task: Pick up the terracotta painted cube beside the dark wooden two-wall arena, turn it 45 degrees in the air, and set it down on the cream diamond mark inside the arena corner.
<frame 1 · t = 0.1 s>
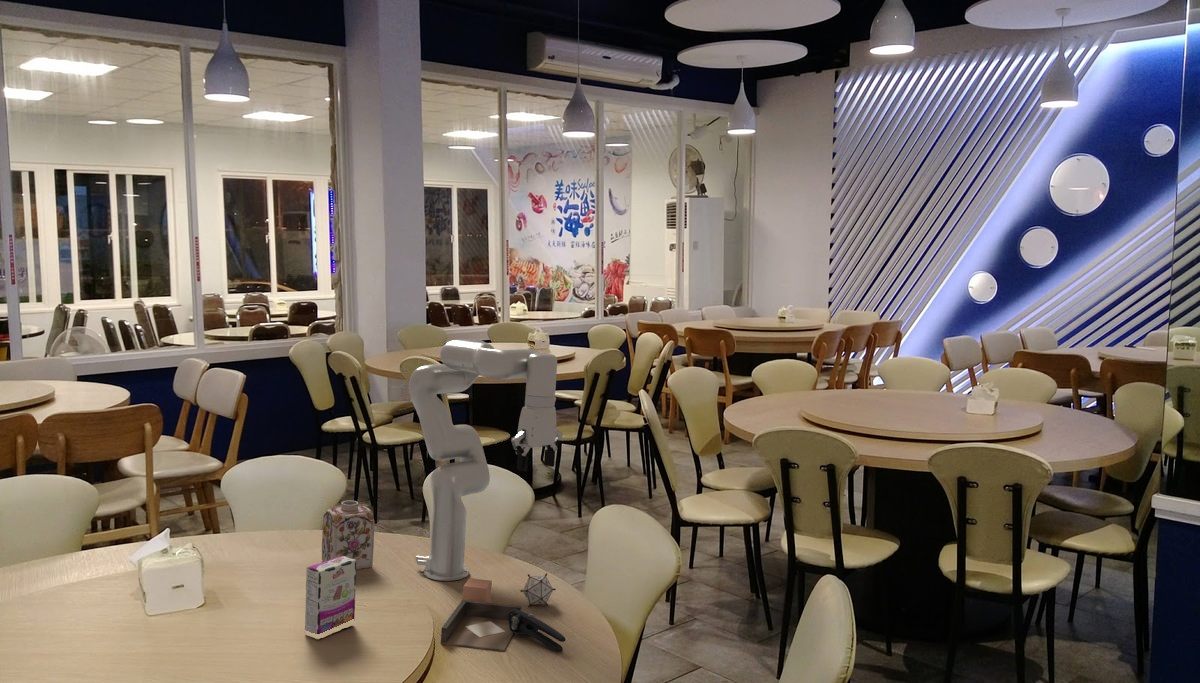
hand: (535, 468, 228), 37 cm above the table, tool pointing down, fingers open, 9 cm apart
game die: (536, 605, 234), on the table
arena: (481, 632, 214), on the table
candy bar box: (329, 631, 209), on the table
decorative jar: (346, 564, 255), on the table
can opener: (535, 640, 212), on the table, touching arena
cube: (476, 605, 231), on the table
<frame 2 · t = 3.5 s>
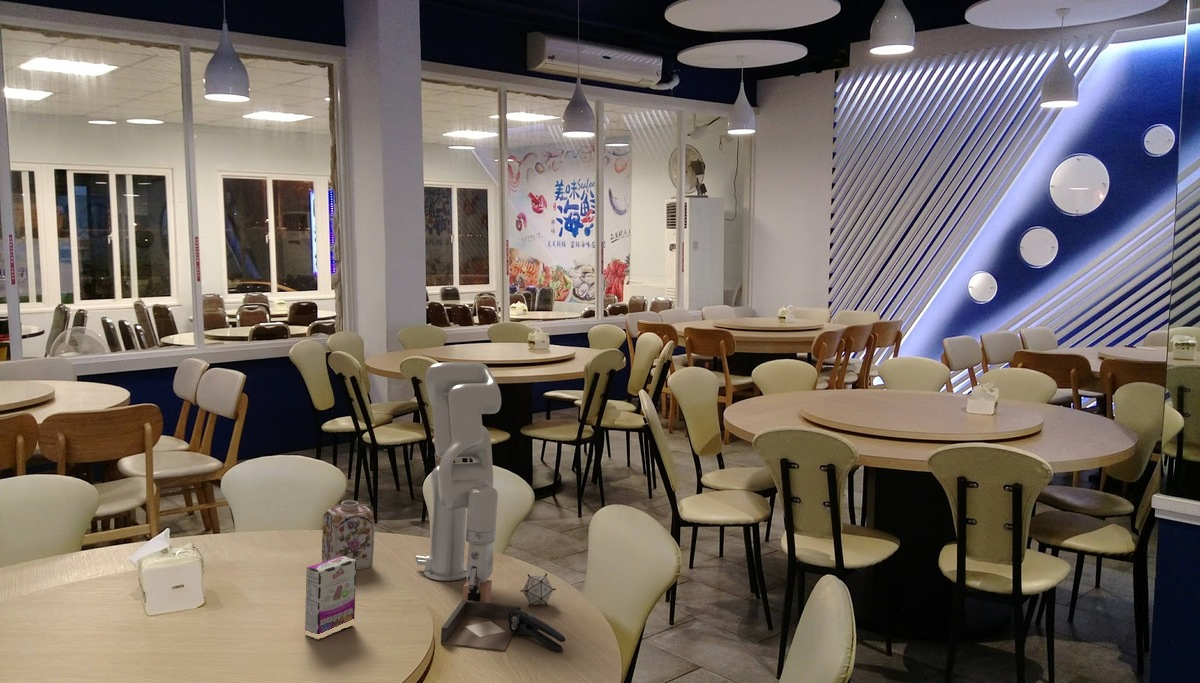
hand: (476, 602, 231), 1 cm above the table, tool pointing down, fingers closed on cube, 5 cm apart
cube: (476, 605, 231), on the table, touching gripper
everything else where it was.
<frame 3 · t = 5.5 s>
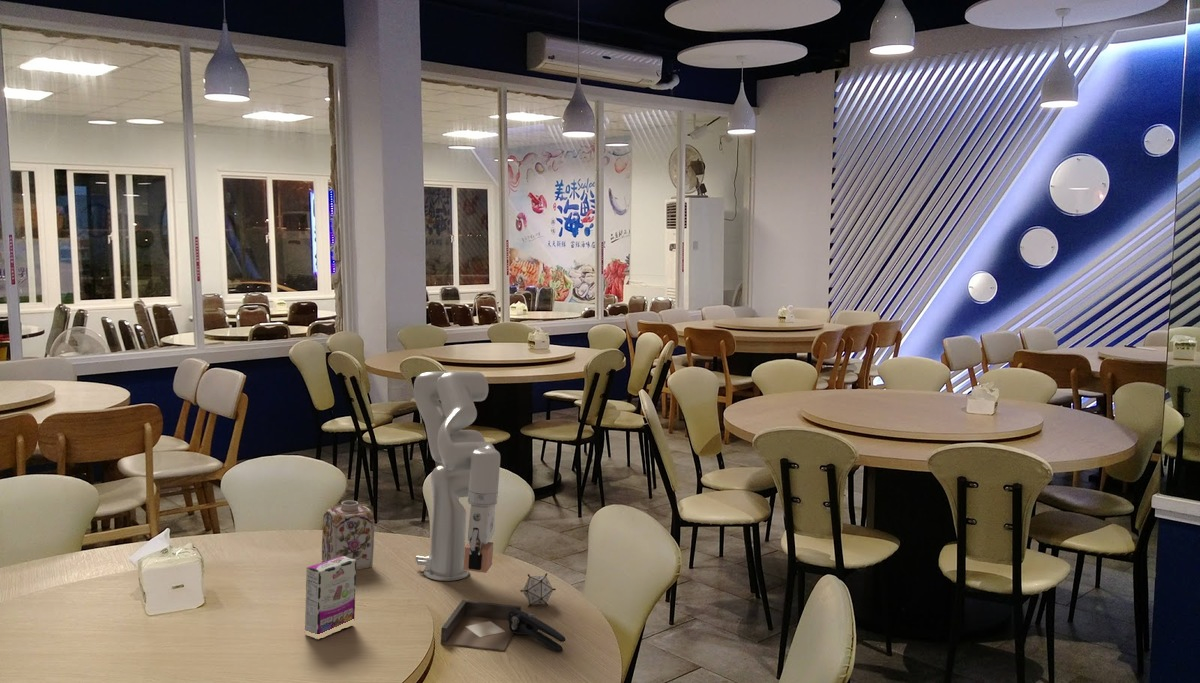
hand: (478, 563, 231), 11 cm above the table, tool pointing down, fingers closed on cube, 5 cm apart
cube: (477, 567, 231), point 10 cm above the table, touching gripper
everything else where it was.
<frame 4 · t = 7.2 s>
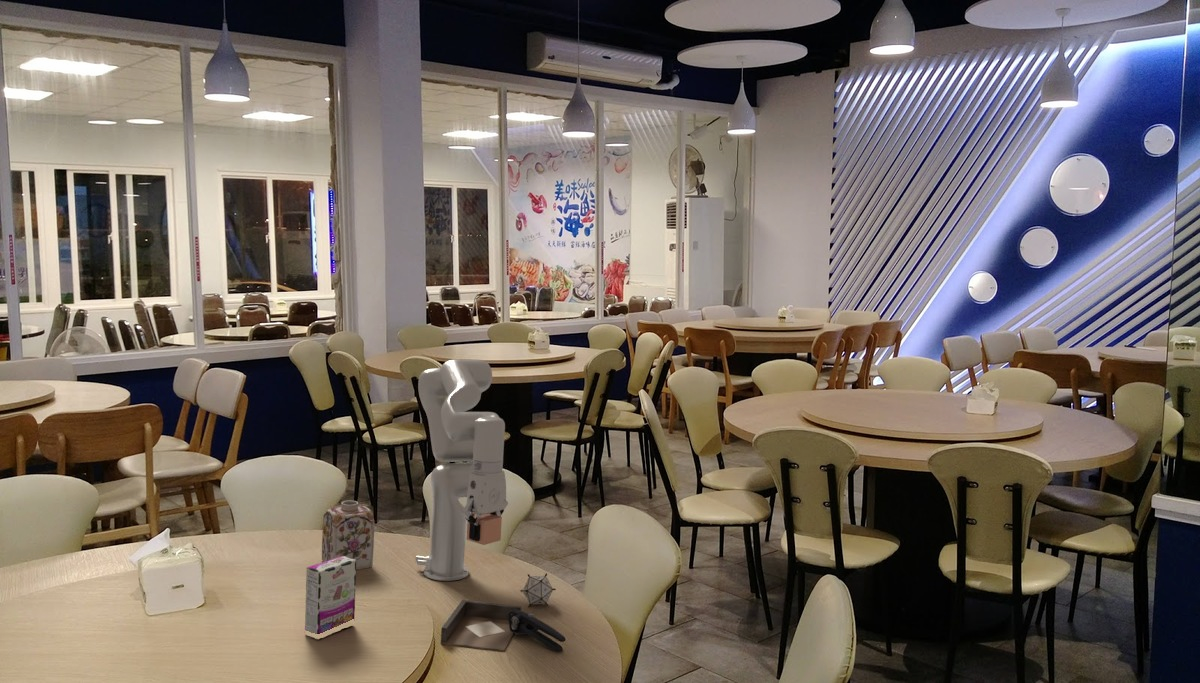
hand: (483, 536, 224), 20 cm above the table, tool pointing down, fingers closed on cube, 5 cm apart
cube: (483, 540, 224), point 19 cm above the table, touching gripper
everything else where it was.
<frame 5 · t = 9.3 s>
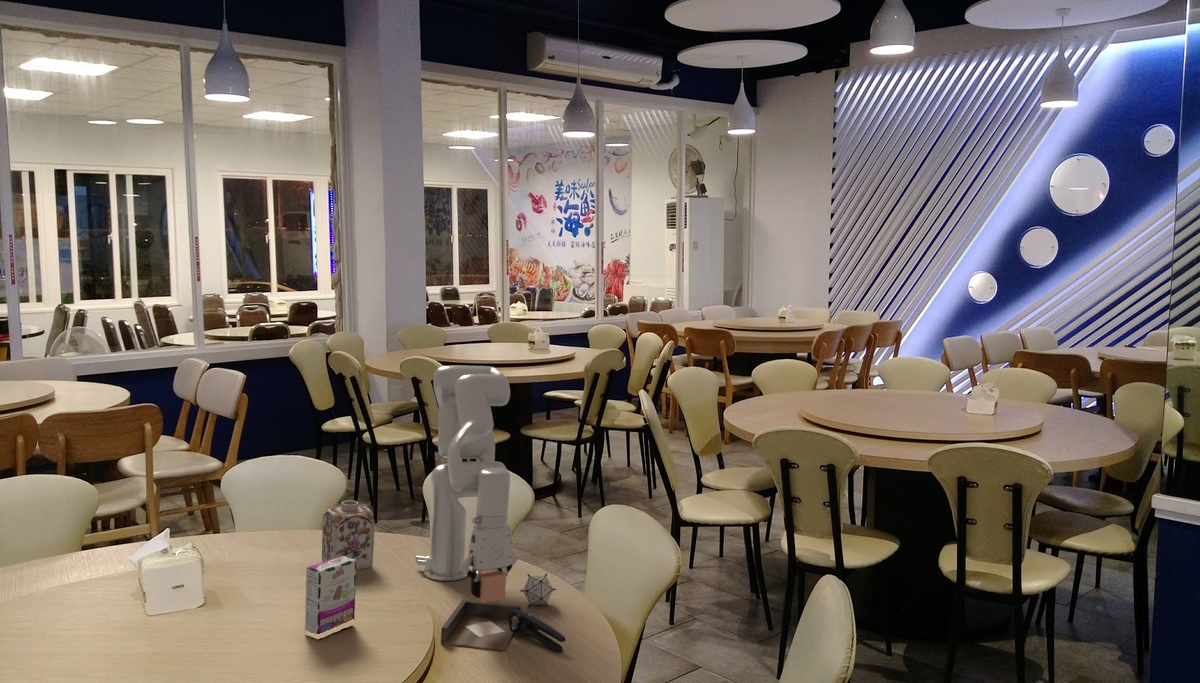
hand: (487, 593, 214), 10 cm above the table, tool pointing down, fingers closed on cube, 5 cm apart
cube: (487, 596, 214), point 9 cm above the table, touching gripper
everything else where it was.
when the fingers open (3 cm above the table, at t = 11.2 s): cube drops 1 cm, resting on arena.
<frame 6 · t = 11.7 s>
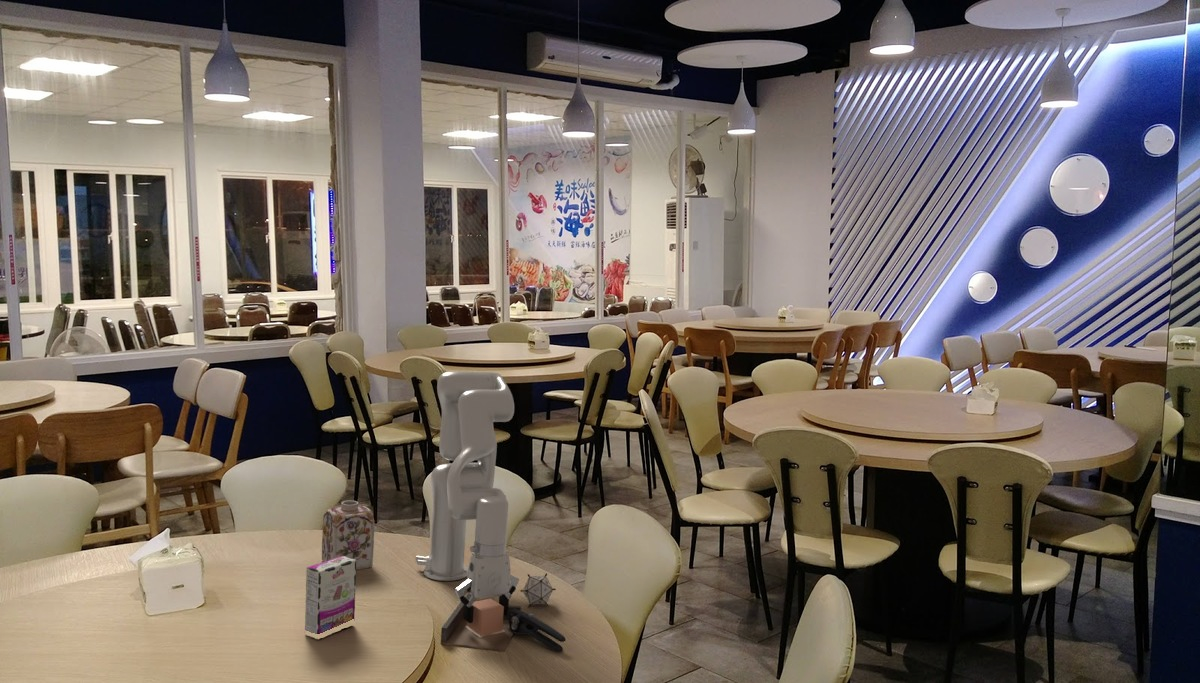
hand: (485, 617, 215), 3 cm above the table, tool pointing down, fingers open, 9 cm apart
cube: (485, 628, 215), resting on arena
everything else where it was.
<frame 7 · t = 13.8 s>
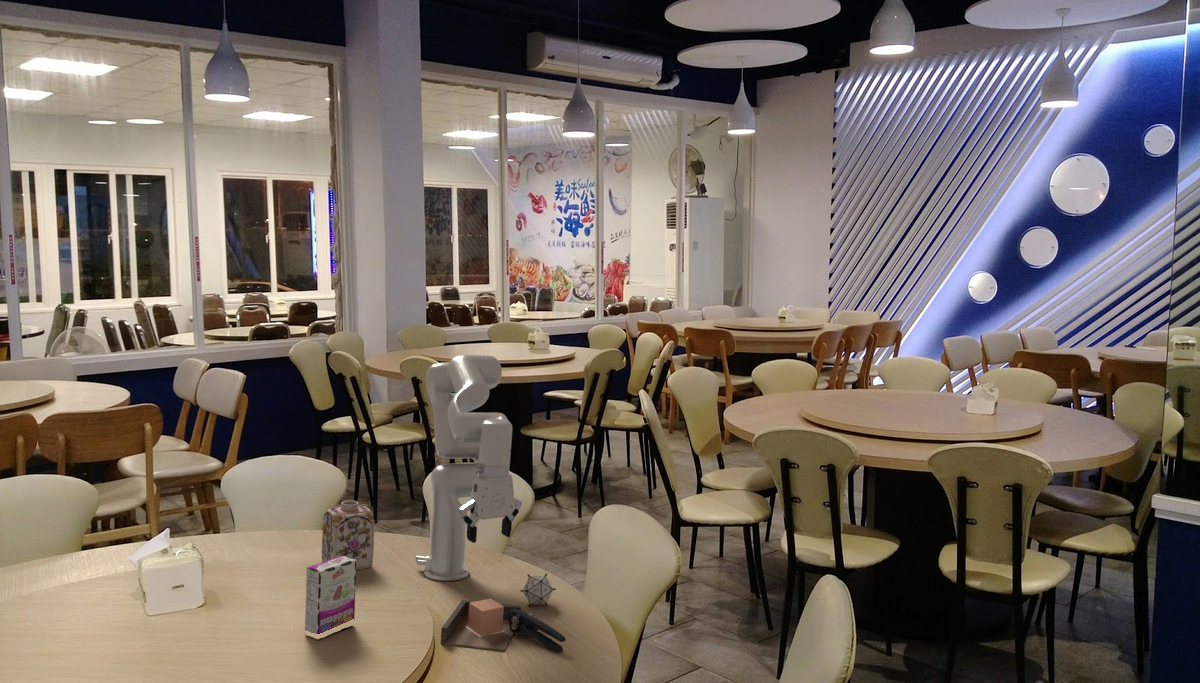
hand: (488, 538, 218), 22 cm above the table, tool pointing down, fingers open, 9 cm apart
nothing on the table moved.
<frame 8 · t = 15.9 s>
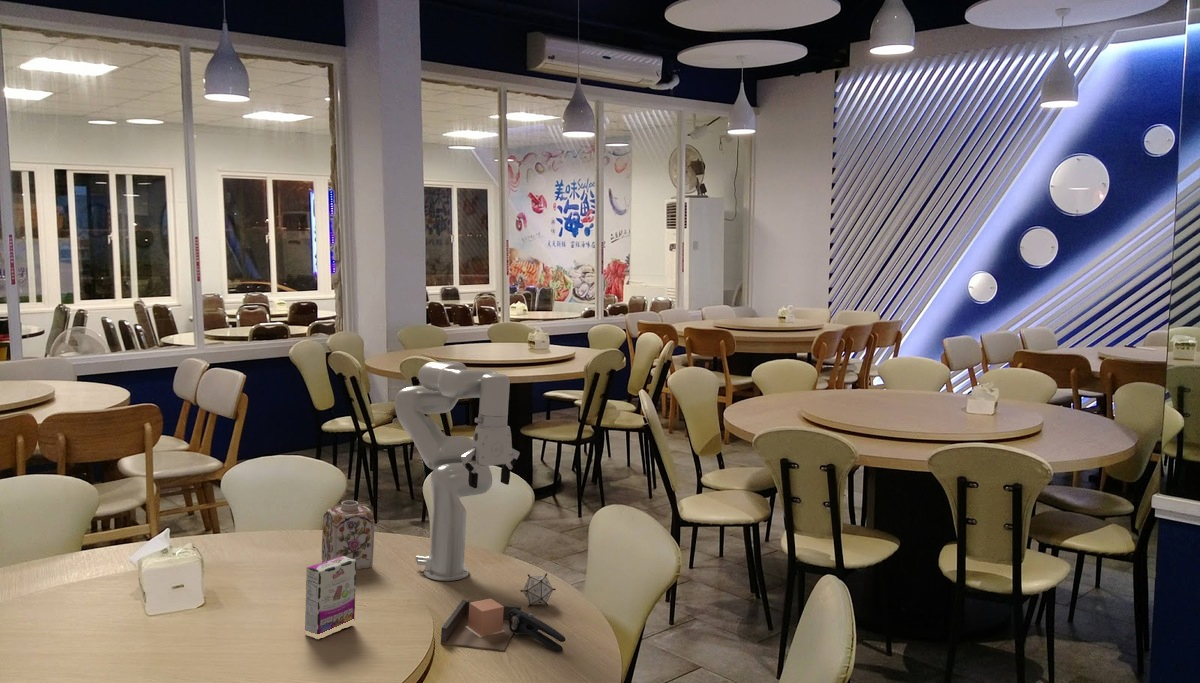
hand: (489, 485, 234), 30 cm above the table, tool pointing down, fingers open, 9 cm apart
nothing on the table moved.
at the end: cube 0.1 cm from the target spot, point 0.5 cm above the table; cube tilted 0°; the gripper is holding nothing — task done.
